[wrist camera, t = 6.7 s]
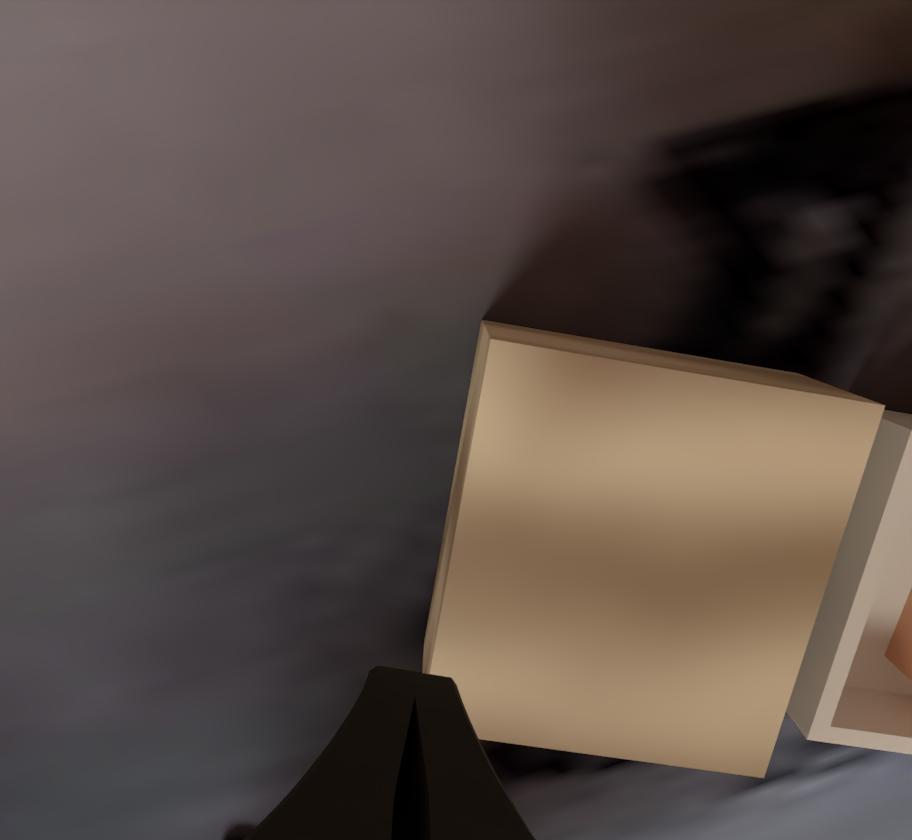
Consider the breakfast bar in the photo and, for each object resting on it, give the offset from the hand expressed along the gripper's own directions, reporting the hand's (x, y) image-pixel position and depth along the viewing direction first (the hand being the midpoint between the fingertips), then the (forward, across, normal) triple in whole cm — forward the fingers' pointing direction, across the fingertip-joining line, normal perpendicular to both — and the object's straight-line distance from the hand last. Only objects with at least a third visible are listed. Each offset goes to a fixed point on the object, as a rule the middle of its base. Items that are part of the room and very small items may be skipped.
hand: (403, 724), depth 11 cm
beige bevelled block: (+9, -5, -1) cm, 11 cm away
